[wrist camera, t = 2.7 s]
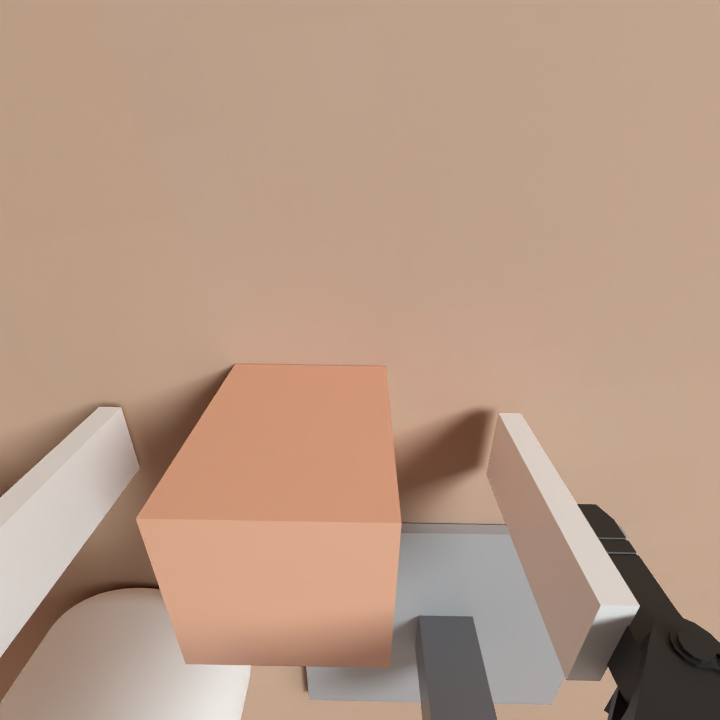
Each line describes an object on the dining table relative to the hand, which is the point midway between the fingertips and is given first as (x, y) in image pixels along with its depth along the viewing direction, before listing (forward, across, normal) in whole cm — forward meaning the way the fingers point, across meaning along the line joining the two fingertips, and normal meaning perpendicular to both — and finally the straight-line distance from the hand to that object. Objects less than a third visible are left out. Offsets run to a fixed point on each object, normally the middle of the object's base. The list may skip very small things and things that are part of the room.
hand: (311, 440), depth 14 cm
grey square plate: (+1, +6, -12) cm, 13 cm away
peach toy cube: (+1, 0, 0) cm, 1 cm away
